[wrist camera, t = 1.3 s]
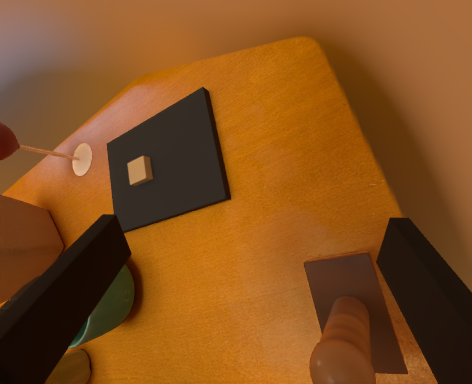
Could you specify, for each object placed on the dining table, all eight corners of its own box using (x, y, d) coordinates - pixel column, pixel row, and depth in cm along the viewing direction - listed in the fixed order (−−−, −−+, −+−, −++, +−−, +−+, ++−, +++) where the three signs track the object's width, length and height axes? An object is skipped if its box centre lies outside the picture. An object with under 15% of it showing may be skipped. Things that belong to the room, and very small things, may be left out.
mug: (147, 255, 41) (92, 265, 33) (143, 331, 40) (85, 361, 32) (90, 247, 49) (34, 253, 41) (86, 311, 48) (27, 330, 40)
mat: (208, 91, 38) (202, 86, 37) (231, 198, 35) (226, 198, 33) (113, 145, 49) (106, 143, 47) (123, 233, 45) (115, 233, 44)
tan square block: (150, 157, 41) (143, 155, 40) (153, 179, 40) (146, 177, 39) (134, 164, 43) (127, 163, 42) (137, 186, 42) (129, 185, 41)
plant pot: (103, 364, 44) (49, 394, 37) (86, 404, 46) (30, 442, 38) (79, 329, 49) (26, 350, 41) (64, 367, 50) (10, 395, 42)
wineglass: (71, 145, 56) (-62, 113, 39) (94, 138, 52) (-43, 99, 35) (70, 179, 55) (-67, 161, 38) (92, 174, 51) (-49, 152, 34)
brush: (310, 257, 29) (261, 294, 15) (368, 248, 26) (372, 282, 12) (335, 352, 27) (305, 495, 13) (402, 353, 24) (452, 535, 10)
